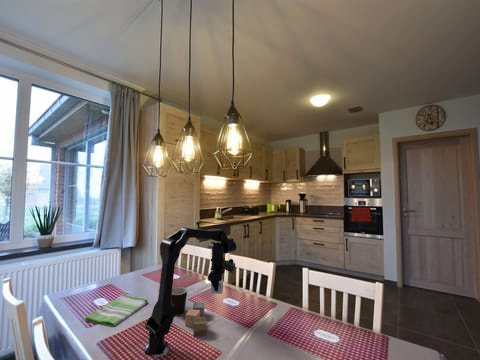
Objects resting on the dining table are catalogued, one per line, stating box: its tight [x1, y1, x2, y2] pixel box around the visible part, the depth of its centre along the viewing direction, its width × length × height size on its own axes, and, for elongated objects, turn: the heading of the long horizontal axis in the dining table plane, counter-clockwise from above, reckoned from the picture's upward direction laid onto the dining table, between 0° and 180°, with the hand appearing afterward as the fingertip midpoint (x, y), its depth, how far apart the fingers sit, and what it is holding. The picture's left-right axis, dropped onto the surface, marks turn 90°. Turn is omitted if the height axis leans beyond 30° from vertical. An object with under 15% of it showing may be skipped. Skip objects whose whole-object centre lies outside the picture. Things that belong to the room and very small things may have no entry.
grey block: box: [192, 301, 205, 317], centre depth 109 cm, size 5×5×5 cm
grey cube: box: [210, 278, 224, 295], centre depth 108 cm, size 5×5×5 cm
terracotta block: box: [184, 308, 200, 328], centre depth 102 cm, size 5×5×5 cm
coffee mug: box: [171, 286, 188, 316], centre depth 114 cm, size 12×9×10 cm
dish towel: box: [84, 293, 149, 327], centre depth 112 cm, size 17×23×4 cm
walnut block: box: [192, 316, 207, 337], centre depth 96 cm, size 5×5×5 cm
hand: (217, 288), depth 108 cm, fingers closed on grey cube, 5 cm apart
